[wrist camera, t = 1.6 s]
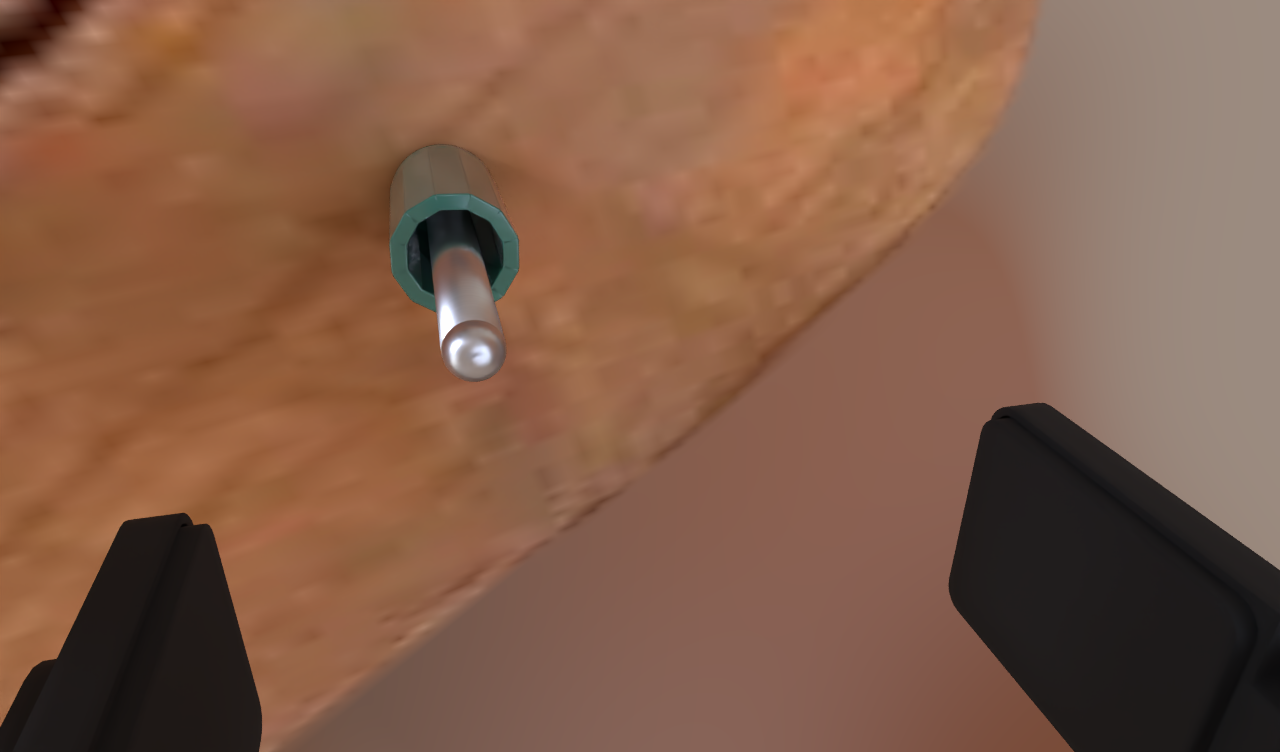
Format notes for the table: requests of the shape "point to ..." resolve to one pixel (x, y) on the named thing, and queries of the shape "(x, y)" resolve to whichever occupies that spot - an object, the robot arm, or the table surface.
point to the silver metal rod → (464, 299)
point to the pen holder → (447, 185)
